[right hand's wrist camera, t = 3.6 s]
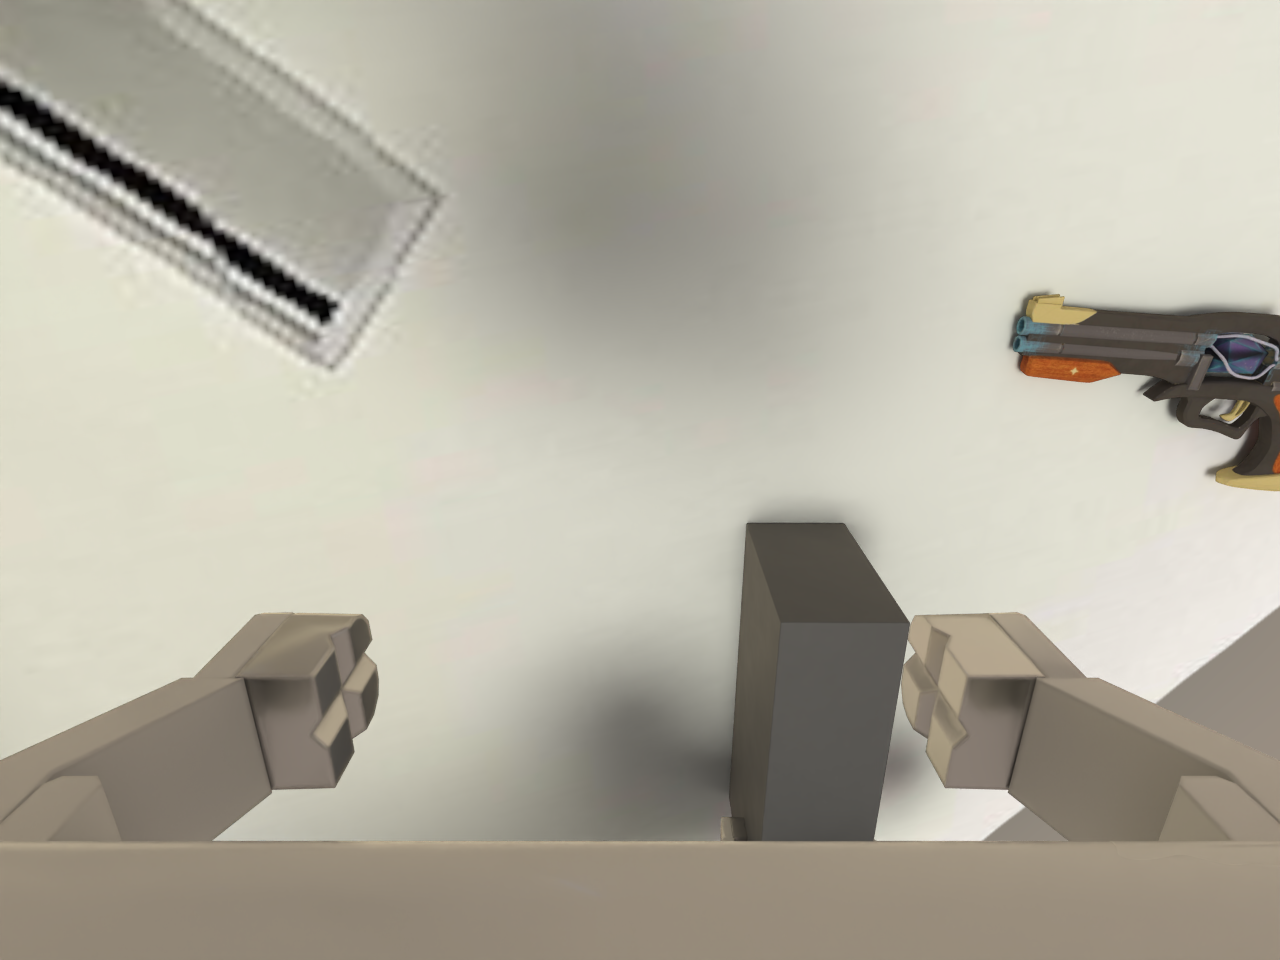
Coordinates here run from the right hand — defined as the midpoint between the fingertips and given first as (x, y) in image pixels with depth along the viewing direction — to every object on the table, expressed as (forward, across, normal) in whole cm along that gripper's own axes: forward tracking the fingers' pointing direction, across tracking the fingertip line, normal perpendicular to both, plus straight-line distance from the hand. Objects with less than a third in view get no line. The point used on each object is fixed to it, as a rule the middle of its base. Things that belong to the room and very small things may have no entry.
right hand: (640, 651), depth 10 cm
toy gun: (+30, +30, -3) cm, 42 cm away
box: (+30, +10, -22) cm, 38 cm away
